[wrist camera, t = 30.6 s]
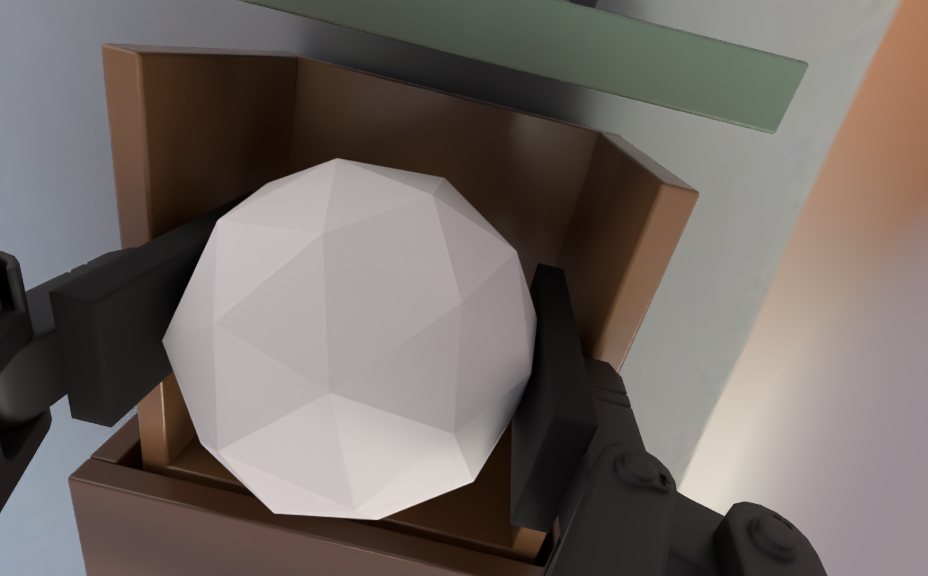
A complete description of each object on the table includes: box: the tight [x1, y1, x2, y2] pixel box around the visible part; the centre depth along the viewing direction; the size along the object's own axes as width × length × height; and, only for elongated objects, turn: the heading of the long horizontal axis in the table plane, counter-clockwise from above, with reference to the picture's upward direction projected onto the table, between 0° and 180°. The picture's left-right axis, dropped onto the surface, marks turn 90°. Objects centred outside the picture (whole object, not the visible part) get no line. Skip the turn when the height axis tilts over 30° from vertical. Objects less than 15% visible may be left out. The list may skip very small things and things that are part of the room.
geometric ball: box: [162, 158, 537, 520], centre depth 11 cm, size 8×8×8 cm
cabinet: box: [68, 412, 560, 576], centre depth 21 cm, size 16×15×11 cm
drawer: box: [102, 0, 808, 565], centre depth 14 cm, size 20×13×9 cm, turn 167°
